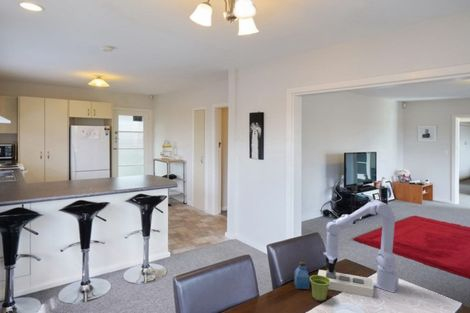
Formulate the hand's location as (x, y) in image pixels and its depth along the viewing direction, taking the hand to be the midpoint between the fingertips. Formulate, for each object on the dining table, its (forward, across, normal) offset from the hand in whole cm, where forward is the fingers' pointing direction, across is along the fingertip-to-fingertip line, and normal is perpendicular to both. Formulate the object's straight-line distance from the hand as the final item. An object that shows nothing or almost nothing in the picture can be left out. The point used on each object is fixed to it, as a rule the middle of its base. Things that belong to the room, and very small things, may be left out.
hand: (331, 271), depth 156 cm
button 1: (+4, 0, 0) cm, 4 cm away
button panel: (+6, 0, +6) cm, 9 cm away
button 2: (+6, 0, +13) cm, 14 cm away
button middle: (+6, 0, +6) cm, 9 cm away
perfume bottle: (+7, +8, -14) cm, 17 cm away
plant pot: (+7, +16, -4) cm, 18 cm away
